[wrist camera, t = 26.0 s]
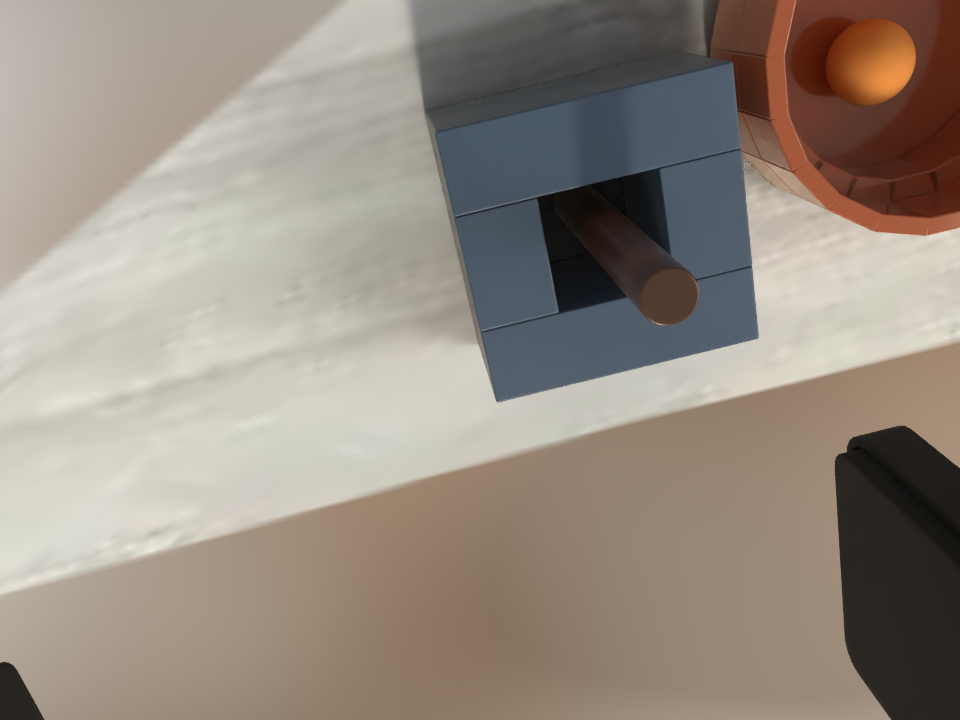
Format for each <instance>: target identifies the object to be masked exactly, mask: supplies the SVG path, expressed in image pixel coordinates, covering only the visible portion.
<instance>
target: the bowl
mask: <svg viewBox="0 0 960 720" xmlns="http://www.w3.org/2000/svg"><path fill="white" fill-rule="evenodd" d="M867 19H886V20H890V21H893V22H895V23H897V24H898V25H900V26H901V27H903V28H904V29H905V30H906V31H907V32H908V34H909V35H910V37H911V38H912V41H913V43H914V46H915V51H916V61H915V67H914V71H913V73H912V75H911V78H910V79H909V81H908V83H907V84H906V85H905V86H904V88H903V89H902V90H901V91H900V92H899V93H898V94H896V95H895V96H894V97H892V98H890V99H889V100H887V101H884V102H882V103H879V104H875V105H869V106H861V105H854V104H851V103H848V102H846V101H844V100H843V99H841V98H840V97H838V96H837V95H836V94H835V92H834V91H833V90H832V89H831V87H830V85H829V83H828V80H827V77H826V59H827V55H828V52H829V50H830V47H831V46H832V44H833V42H834V41H835V39H836V38H837V37H838V36H839V35H840V34H841V33H842V32H843V31H844V30H845V29H847V28H848V27H850V26H851V25H853V24H855V23H857V22H860V21H863V20H867ZM710 48H711V49H710V54H711V58H716V59H721V60H727V61H732V62H733V69H734V79H735V90H736V101H737V112H738V122H739V133H740V144H741V147H740V149H741V151H742V156H743V157H744V158H745V159H746V160H747V161H748V162H749V163H750V164H751V165H752V166H753V167H754V168H755V169H756V170H757V171H758V172H759V173H760V174H761V175H762V176H763V177H764V178H765V179H766V180H767V181H768V182H770V183H771V184H773V185H775V186H777V187H779V188H782V189H784V190H786V191H788V192H790V193H792V194H794V195H796V196H799V197H801V198H803V199H805V200H807V201H809V202H811V203H814V204H816V205H818V206H820V207H822V208H824V209H826V210H828V211H831V212H833V213H835V214H837V215H839V216H841V217H843V218H846V219H848V220H850V221H852V222H854V223H856V224H859V225H861V226H863V227H865V228H867V229H869V230H871V231H875V232H884V233H897V234H910V235H923V236H926V235H931V234H935V233H939V232H943V231H947V230H951V229H955V228H959V227H960V0H719V3H718V8H717V14H716V19H715V24H714V30H713V35H712V40H711V46H710Z"/></svg>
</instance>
